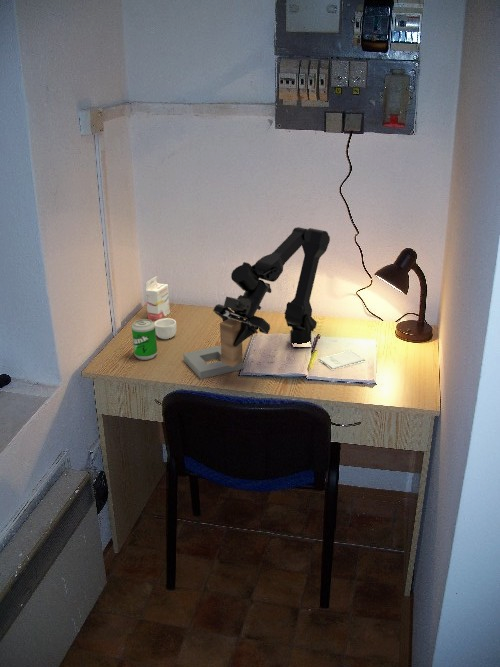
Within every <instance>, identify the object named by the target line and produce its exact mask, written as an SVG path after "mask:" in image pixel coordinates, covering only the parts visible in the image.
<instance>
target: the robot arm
mask: <svg viewBox="0 0 500 667" xmlns="http://www.w3.org/2000/svg"><path fill="white" fill-rule="evenodd" d="M330 241H331V235H330V234H329V233H328V231H327V230H322V229H317V228H312V227H310V228H303V227H301V226H300V227H299V226H298V227H295V228H293V229H292V232H291V233H290V234H289V235H288V236H287V238H285V240H284V241H282V242H281V244H280V245H279V246H278V247H276V249H275V250H273V252H272V253H270V254H267V255H264V256H262V257H261V258H260V259H258V260H257V261H256V262H255V264H253V265H251V264H250V263H249V262H245V261H243V262H242V264H241V265H238V266H237V267H236V268H234V269H233V270H232V272H231V274H230V276H231V280H232V281H233V283H235V284H236V285H237V286H238V287H239V288H240V289H241V290H242V291H244V293H243V295H241V294H239V296H238V297H237V298H235V297H231V296H227V295H226V297H225V300H224V304H223V305H222V304H220V303H219V304H216V305H215V306H214V308H213V309H212V312H213V313H214V314H215V315H216V316H218V317H219V318H220V319H222V322H223V321H225V320H228V319H230V318H231V319H234V320H237V321H240V322H241V329H240V331H239V333H238V335H237V337H236V339H235V341H234V344H233V346H235V347H236V346H237V345H239V344H240V343H241V342H242V343H243V342H244V341H245V340H247V339H248V338H250V337H252V336H253V335H255V334H256V335H257V334H258V333H259V332H260V333H262V334H266V335H268V334H269V332H270V330H271V325H270V323H268V322H267V321H266V320H265V319H264V318H262V317H260V316H256V315H255V314H256V312H257V311H261V309H262V306H261V303H262V301H263V299H264V297H265V296H266V293H268V294H271V293H272V288H271V284H270V283H268V282H273V283H274V282H276V281H277V280H278V279H279V277H280V276H281V275H282V273H283V271H284V266H285V265H286V263H287V262H288V261H289V260H290V258H291V257H293V255H295V254H296V252H298V250H299V249H300V248H301V247H302V251H303V253H304V256H303V259H302V260H303V261H302V265H301V270H300V273H299V277H298V282H297V287H296V291H295V295H294V298H293V299H292V300H291V301H288V302H287V303H286V307H285V308H286V309H285V310H284V319H285V321H286V326H287V327H290V328H291V330H289V343H290V342H291V343H293V344H294V343H297V344H302V343H307V342H309V341H310V342H311V343H312V332H314V331H315V329H316V328H317V323H318V322H317V320H315V319H314V318H313V317H312V314H313V307H312V306H311V296H312V293H313V292H312V291H313V289H314V283H315V278H316V275H317V269H318V267H319V263H320V259H321V257H322V256H323V255H324V254H325V253H326V252H327V251H328V250H327V249H328V246H329V244H330ZM265 281H268V282H265ZM258 331H259V332H258ZM291 343H290V344H291Z"/></svg>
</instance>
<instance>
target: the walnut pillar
mask: <svg viewBox="0 0 500 667" xmlns="http://www.w3.org/2000/svg"><path fill="white" fill-rule="evenodd" d="M240 329H241V321H238V320H234V319H231V318H230V319H228V320H225V321H223V320H222V321H221V322H219V331H220V332H219V334H220V338H219V339H220V345H221V361H222V363H223V364H226V365H228V366H231V367H234V366H236V365H238V364H240V363H242V362H243V363H244V360H243V359H244V358H243V357H244V356H243V355H244V354H243V352H244V351H243V342H241V343H240V344H239V345H237V346H236V347H235V346H233V344H234V341H235V339H236V337H237V335H238V333H239V331H240Z"/></svg>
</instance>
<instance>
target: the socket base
mask: <svg viewBox="0 0 500 667" xmlns="http://www.w3.org/2000/svg"><path fill="white" fill-rule="evenodd" d="M182 356H183V361H184V363H185V364H186V365H187V366H188V367H189V368H190V370H192V371H193V373H194V374H195V375H196V376H197V377H198V378H199V379H200V380H204V379H207V378H211V377H215V376H220V375H224V374H228V373H233V372H236V371H240V370H243V369H244V361H243V362H242V363H240V364H238V365H236V366H234V367H231V366H228V365H226V364H223V363H222V361H221V344H220V345H216V346H211V347H206V348H203V349H198V350H193V351H190V352H189V351H188V352H184V353H183V354H182ZM217 359H218V361H214V360H217ZM210 361H214V362H210ZM207 362H209V363H207Z"/></svg>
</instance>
